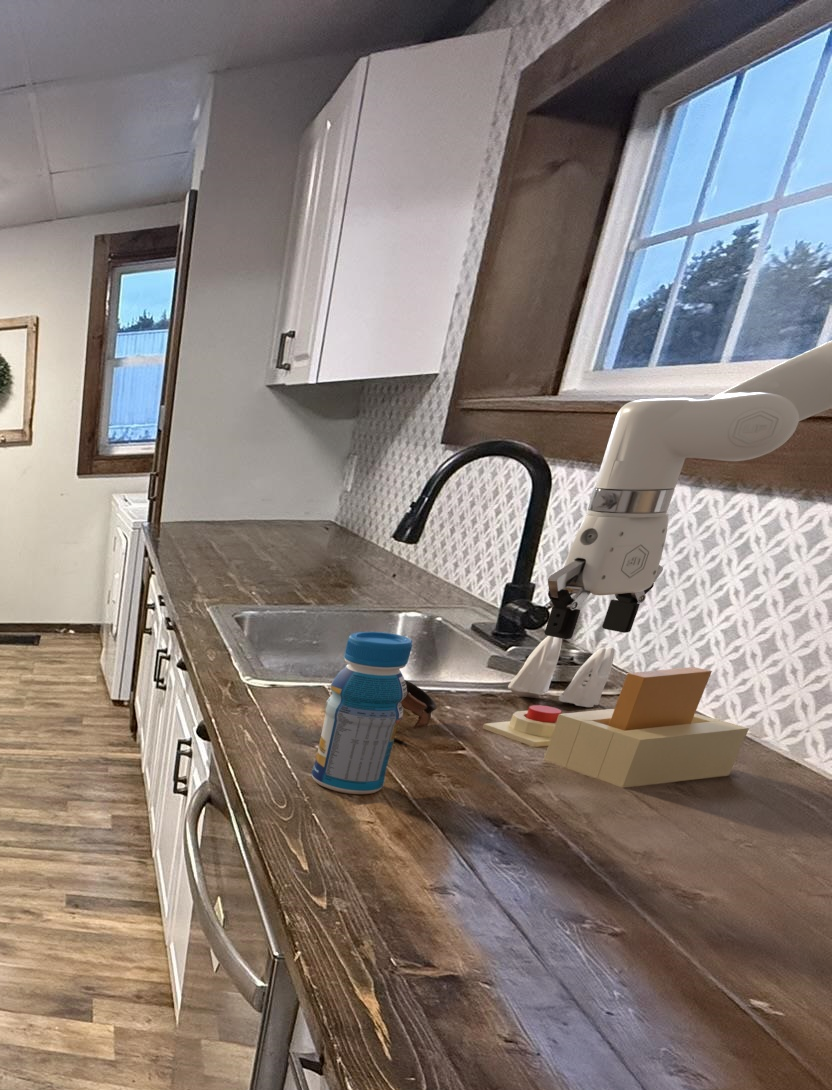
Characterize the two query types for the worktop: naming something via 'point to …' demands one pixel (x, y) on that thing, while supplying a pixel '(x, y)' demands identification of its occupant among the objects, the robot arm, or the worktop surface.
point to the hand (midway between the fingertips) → (586, 633)
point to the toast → (659, 698)
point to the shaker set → (581, 688)
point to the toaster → (644, 749)
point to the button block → (523, 729)
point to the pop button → (543, 713)
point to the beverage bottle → (363, 714)
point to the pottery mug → (418, 704)
